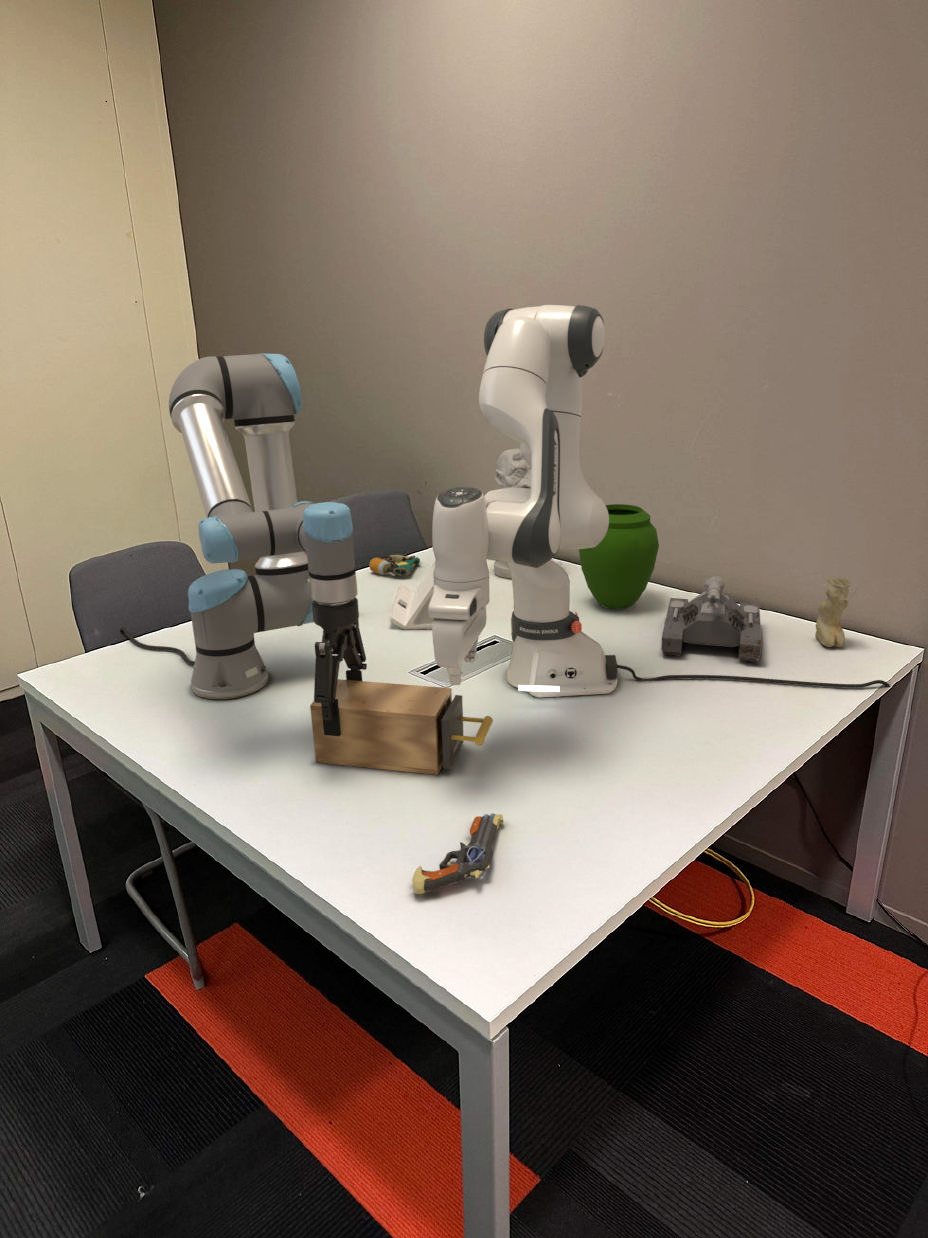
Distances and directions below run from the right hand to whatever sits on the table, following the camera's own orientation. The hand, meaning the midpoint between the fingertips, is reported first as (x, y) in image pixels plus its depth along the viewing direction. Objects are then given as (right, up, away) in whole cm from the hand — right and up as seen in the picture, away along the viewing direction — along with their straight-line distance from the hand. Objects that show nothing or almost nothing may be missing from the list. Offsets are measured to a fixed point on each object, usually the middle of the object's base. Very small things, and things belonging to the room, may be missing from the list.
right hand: (463, 671), depth 140 cm
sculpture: (+80, +3, +47) cm, 93 cm away
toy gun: (0, -25, -21) cm, 32 cm away
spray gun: (-19, +23, +107) cm, 111 cm away
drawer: (-8, -14, +6) cm, 17 cm away
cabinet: (-14, -15, +8) cm, 21 cm away
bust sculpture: (+17, +21, +99) cm, 103 cm away
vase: (+38, +12, +74) cm, 84 cm away
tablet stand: (-8, +11, +74) cm, 75 cm away
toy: (+55, +4, +51) cm, 75 cm away
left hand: (-21, -9, +7) cm, 23 cm away
